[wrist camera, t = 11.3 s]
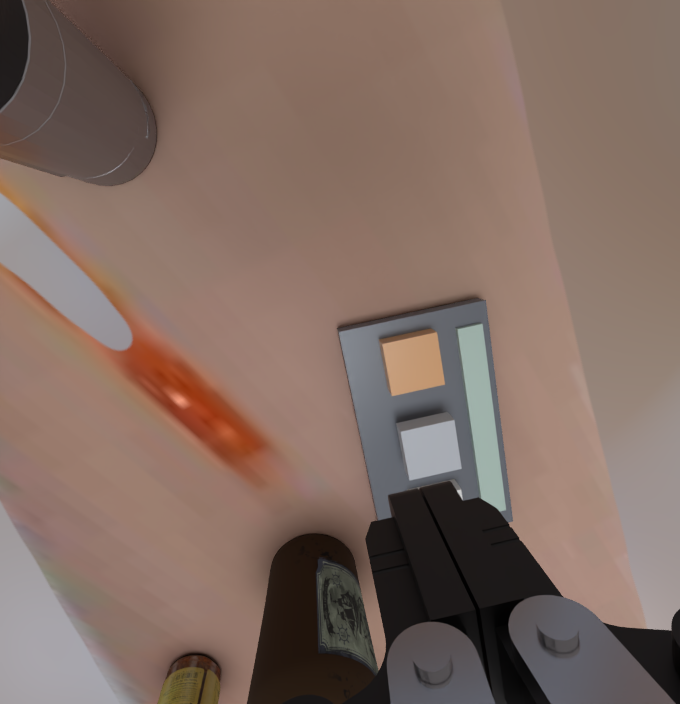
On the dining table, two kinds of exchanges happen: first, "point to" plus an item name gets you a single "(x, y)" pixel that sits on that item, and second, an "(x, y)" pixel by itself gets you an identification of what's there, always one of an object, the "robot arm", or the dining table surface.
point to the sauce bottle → (191, 682)
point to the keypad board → (430, 403)
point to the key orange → (412, 361)
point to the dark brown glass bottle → (313, 626)
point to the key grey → (429, 445)
